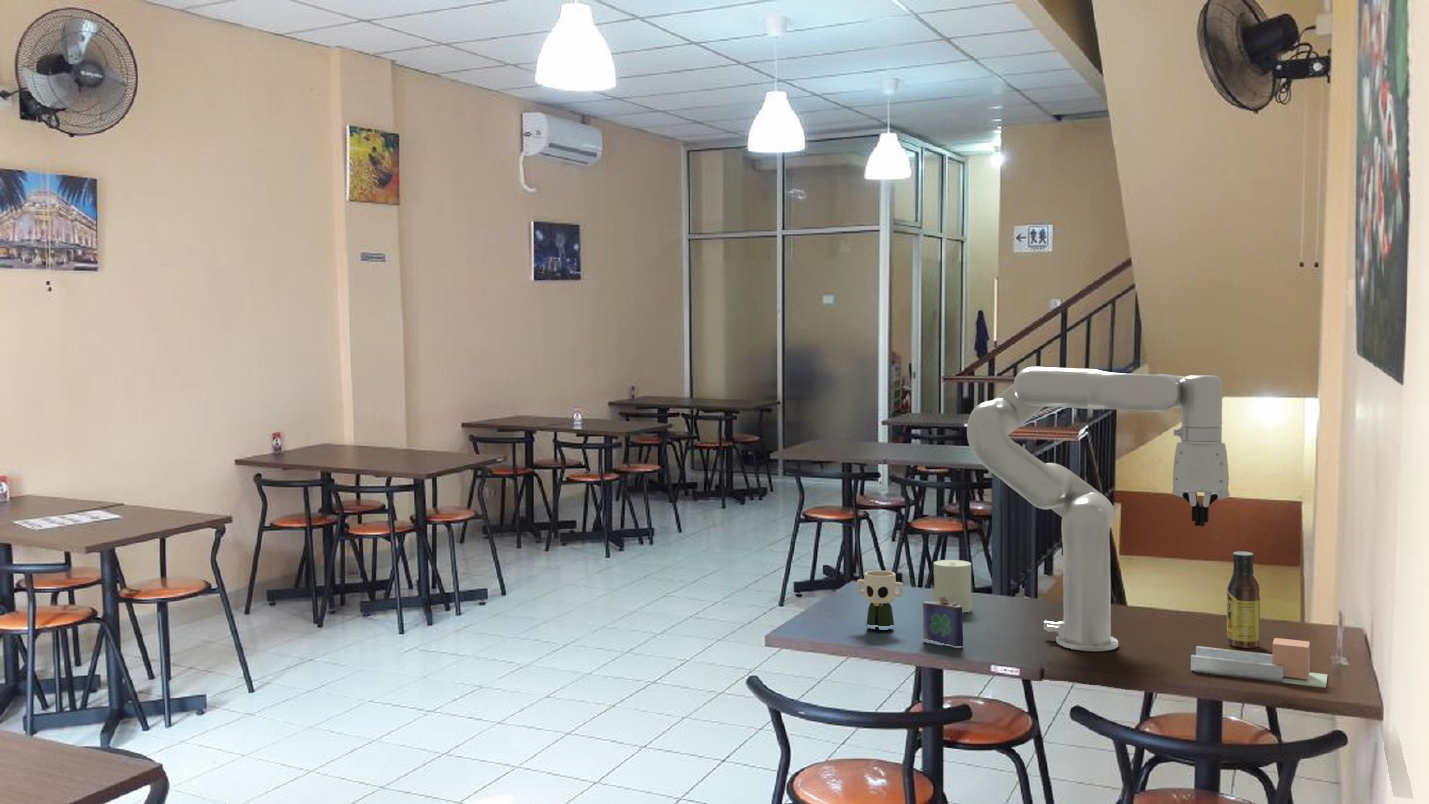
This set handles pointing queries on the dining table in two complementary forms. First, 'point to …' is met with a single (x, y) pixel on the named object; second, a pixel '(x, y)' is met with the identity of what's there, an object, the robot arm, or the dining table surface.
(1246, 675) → the chute
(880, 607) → the character mug
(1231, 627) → the sauce bottle
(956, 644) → the flask
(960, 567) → the can
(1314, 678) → the pad
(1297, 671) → the block
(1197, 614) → the dining table surface
